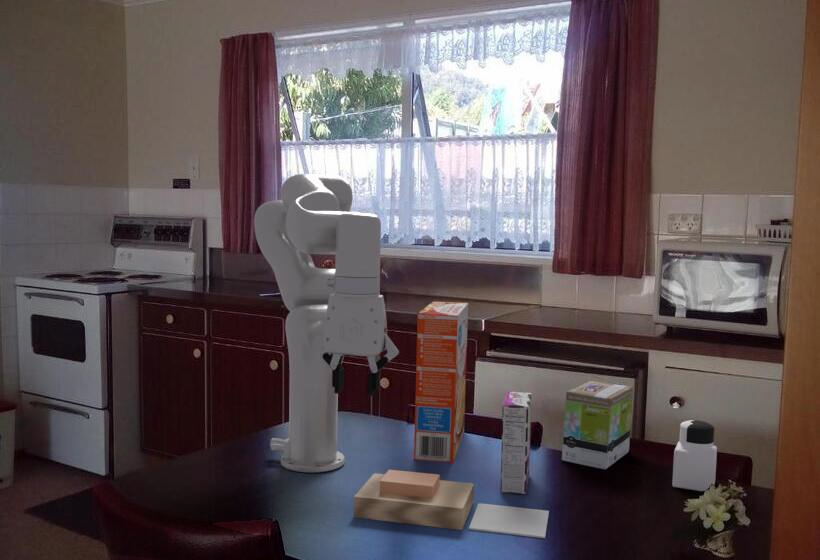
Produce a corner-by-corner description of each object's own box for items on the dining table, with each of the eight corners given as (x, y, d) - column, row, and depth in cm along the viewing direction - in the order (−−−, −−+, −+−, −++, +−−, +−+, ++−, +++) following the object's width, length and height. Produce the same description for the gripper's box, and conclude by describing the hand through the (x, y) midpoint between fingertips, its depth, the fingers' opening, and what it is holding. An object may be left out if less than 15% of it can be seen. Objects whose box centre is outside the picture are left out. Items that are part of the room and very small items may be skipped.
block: (379, 492, 129) (379, 480, 129) (388, 480, 135) (389, 469, 135) (432, 498, 127) (432, 486, 127) (439, 486, 133) (439, 474, 133)
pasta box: (453, 462, 157) (457, 315, 155) (413, 459, 158) (417, 313, 156) (464, 432, 180) (468, 303, 177) (429, 429, 181) (433, 301, 178)
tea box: (608, 471, 155) (612, 397, 153) (560, 461, 160) (563, 390, 159) (630, 452, 167) (633, 384, 166) (585, 444, 173) (588, 378, 171)
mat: (468, 529, 124) (468, 527, 124) (478, 504, 135) (478, 503, 134) (545, 538, 121) (545, 536, 121) (548, 512, 132) (548, 510, 132)
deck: (353, 517, 128) (354, 496, 127) (373, 492, 139) (374, 473, 139) (462, 529, 124) (462, 508, 123) (473, 503, 135) (473, 483, 135)
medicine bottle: (715, 481, 150) (718, 420, 149) (712, 493, 143) (716, 429, 142) (676, 475, 153) (679, 415, 152) (672, 487, 146) (675, 424, 145)
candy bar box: (503, 473, 151) (506, 390, 150) (529, 475, 151) (532, 392, 149) (498, 493, 141) (501, 404, 139) (526, 495, 140) (529, 406, 138)
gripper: (301, 286, 129) (300, 394, 131) (401, 291, 125) (398, 402, 127) (317, 282, 136) (315, 384, 138) (411, 287, 132) (409, 392, 134)
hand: (355, 391), depth 132 cm, fingers open, 5 cm apart
